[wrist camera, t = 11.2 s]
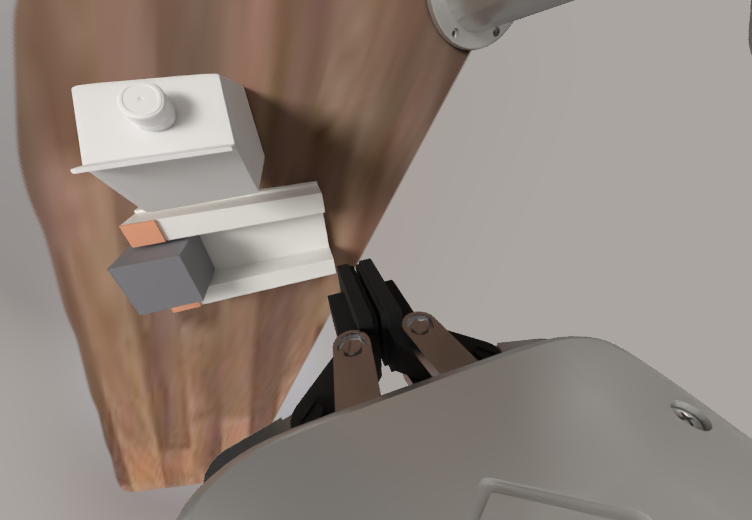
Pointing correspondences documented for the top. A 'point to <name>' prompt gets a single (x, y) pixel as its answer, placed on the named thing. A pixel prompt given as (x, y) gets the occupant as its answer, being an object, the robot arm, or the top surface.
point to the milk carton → (169, 139)
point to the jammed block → (164, 274)
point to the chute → (247, 238)
